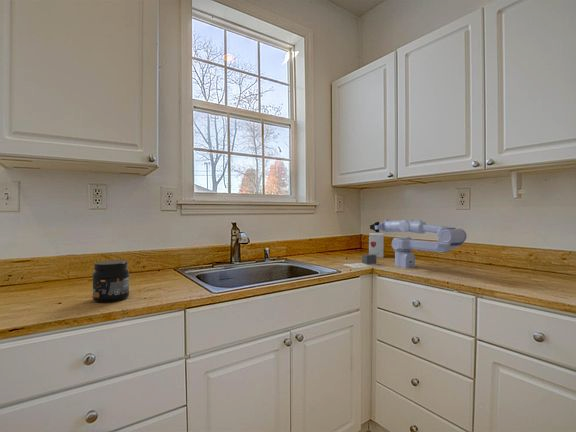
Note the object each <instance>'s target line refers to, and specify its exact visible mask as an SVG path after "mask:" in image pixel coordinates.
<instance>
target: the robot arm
mask: <svg viewBox="0 0 576 432" xmlns="http://www.w3.org/2000/svg"><path fill="white" fill-rule="evenodd" d="M369 230H372V231H373V232H375V233H380V231H382V232H385V233H390V232H391V233H393V232H397V233H399V232H402V233H406V232H407V233H408V232H409V233H415V234H424V233H428V232H429V233H433V234H437V237H438V238H437V241H433V240H432V241H430V240H420V239H419V240H418V239H415V238H414V239H413V238H412V237H394V238H393V239H392V241H391V247H392V249H393V251H394V266H395V267H398V268H404V269H410V268H413V269H414V268H416V255H415V254H414V253H413V252H411V251H412V250H415V251H424V252H430V253H431V252H432V253H448V252H450V251H452V250H453V249H455V248H458V247H460V246H462V245H463V244H464V243H465V241H466V240H467V237H468V235H467V233H466V231H465V230H464V229H463V228H457V227H453V226H448V225H439V224H438V225H437V224H436V225H435V224H427V223H426V222H425V221H423V220H422V219H418V220H414V219H408V220H406V219H403V220H389V219H388V218H385V219H384V221H382V222H381V223H380V221H375V222H374V223H373V224H370V225H369Z"/></svg>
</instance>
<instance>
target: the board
mask: <svg viewBox="0 0 576 432" xmlns="http://www.w3.org/2000/svg"><path fill="white" fill-rule="evenodd" d="M341 265H342V266H346V267H349V268H353V269H357V268H360V269H361V268H369V267H370V268H373V267H381V265H379V264H376V265H363V264H362V262H359V263H358V262H356V263H343V264H341Z"/></svg>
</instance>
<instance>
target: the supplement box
mask: <svg viewBox="0 0 576 432" xmlns="http://www.w3.org/2000/svg"><path fill="white" fill-rule="evenodd" d="M384 236H385V234H384V233H381V232H375V233H374V232H373V233H372V232H370V233H369V236H368V254H373V255H376V258H383V259H384V250H385V249H384V248H385V246H384V245H385V242H384V239H385V237H384Z"/></svg>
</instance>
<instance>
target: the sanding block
mask: <svg viewBox="0 0 576 432" xmlns="http://www.w3.org/2000/svg"><path fill="white" fill-rule="evenodd" d="M361 258H362V260H361V263H362V264H363V265H377V257H376V255H373V254H369V253H367V254H362V255H361Z"/></svg>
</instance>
